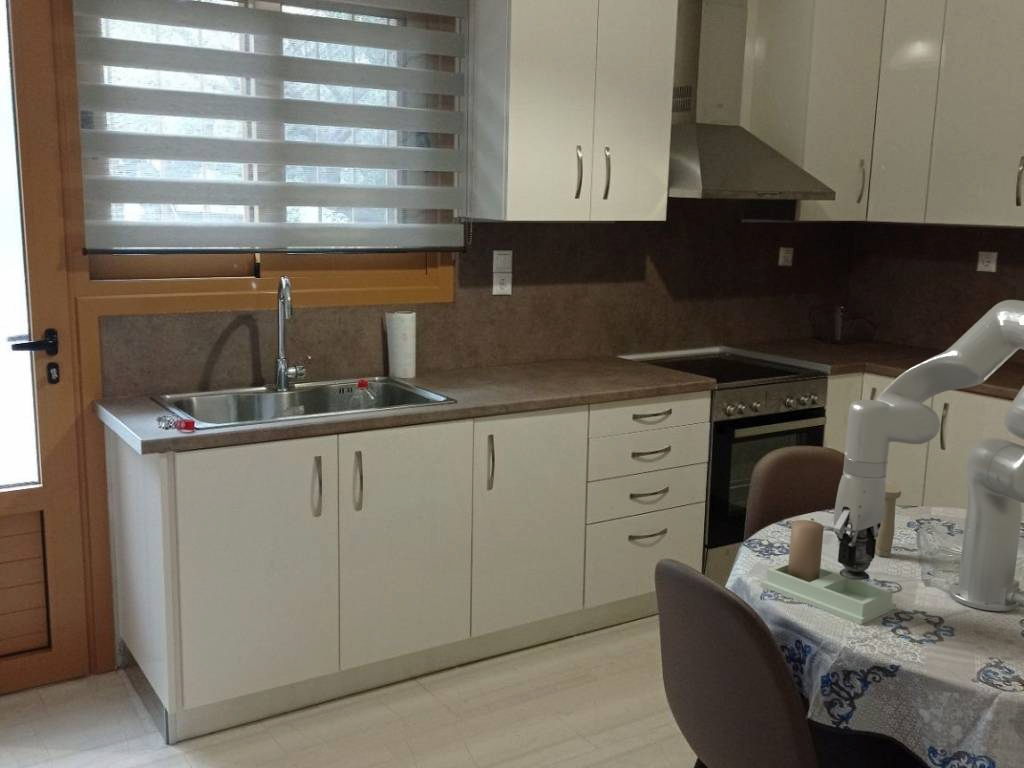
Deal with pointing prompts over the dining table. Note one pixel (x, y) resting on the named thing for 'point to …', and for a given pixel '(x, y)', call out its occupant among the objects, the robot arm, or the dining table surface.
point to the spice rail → (824, 580)
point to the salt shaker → (858, 559)
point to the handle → (887, 522)
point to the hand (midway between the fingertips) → (856, 559)
